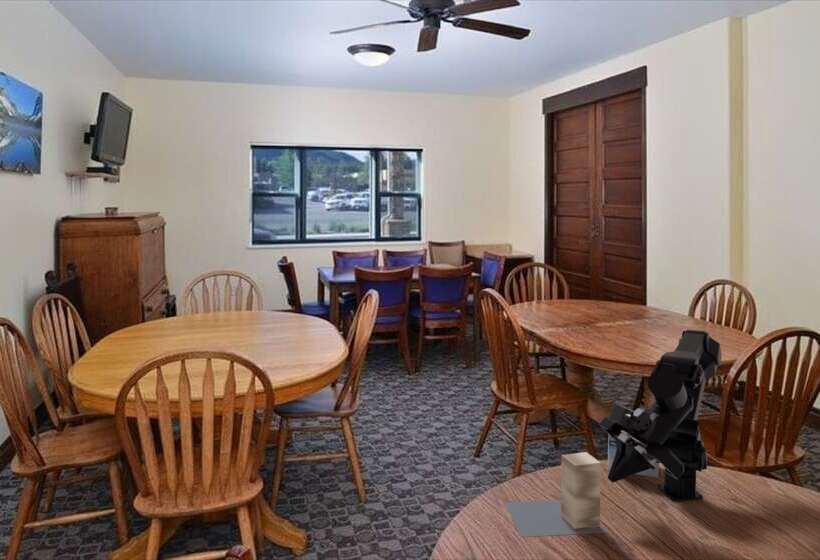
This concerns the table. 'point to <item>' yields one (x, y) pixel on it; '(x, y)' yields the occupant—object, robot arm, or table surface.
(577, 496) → the beech block
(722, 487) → the table surface
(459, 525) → the table surface
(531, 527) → the slate mat
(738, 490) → the table surface
